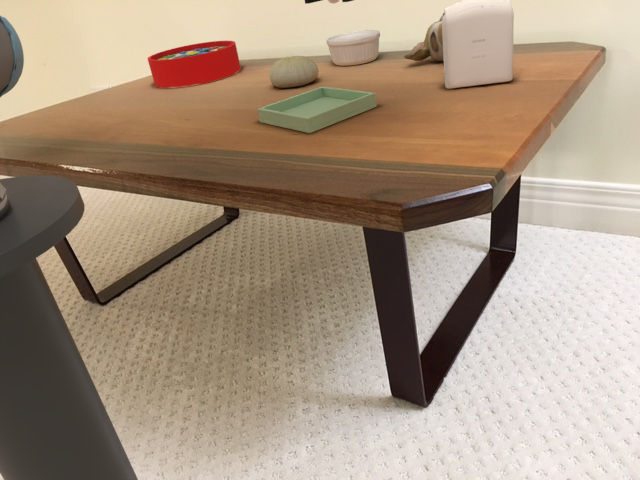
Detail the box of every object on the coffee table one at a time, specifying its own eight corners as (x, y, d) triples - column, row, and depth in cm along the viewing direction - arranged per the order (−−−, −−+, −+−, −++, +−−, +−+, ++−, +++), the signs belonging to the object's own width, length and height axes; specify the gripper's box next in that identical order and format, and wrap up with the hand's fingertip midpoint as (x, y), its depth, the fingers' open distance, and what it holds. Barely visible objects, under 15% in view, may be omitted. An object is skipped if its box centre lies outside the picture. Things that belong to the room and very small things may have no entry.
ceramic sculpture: (491, 0, 99) (451, 21, 90) (492, 48, 103) (454, 73, 95) (439, 4, 106) (397, 24, 97) (443, 49, 110) (403, 72, 101)
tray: (309, 133, 74) (307, 118, 73) (259, 122, 83) (257, 108, 82) (376, 106, 81) (375, 92, 80) (324, 98, 90) (322, 86, 89)
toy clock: (128, 62, 120) (186, 43, 134) (136, 89, 122) (192, 67, 137) (197, 58, 110) (252, 38, 125) (204, 87, 113) (257, 64, 128)
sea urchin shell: (305, 78, 96) (274, 47, 96) (285, 109, 102) (255, 79, 102) (330, 66, 103) (300, 36, 103) (310, 95, 108) (281, 67, 108)
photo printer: (444, 91, 83) (441, 4, 77) (443, 84, 87) (440, 1, 81) (515, 83, 81) (517, -6, 75) (510, 76, 85) (512, -9, 79)
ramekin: (337, 57, 120) (334, 32, 118) (387, 53, 117) (385, 27, 114) (322, 69, 111) (318, 42, 109) (375, 65, 107) (372, 37, 105)
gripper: (407, -317, 44) (421, -9, 55) (276, -238, 58) (308, -3, 69) (338, -330, 40) (368, 4, 51) (215, -241, 54) (260, 8, 65)
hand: (334, 0), depth 60 cm, fingers closed on lightbulb, 6 cm apart
